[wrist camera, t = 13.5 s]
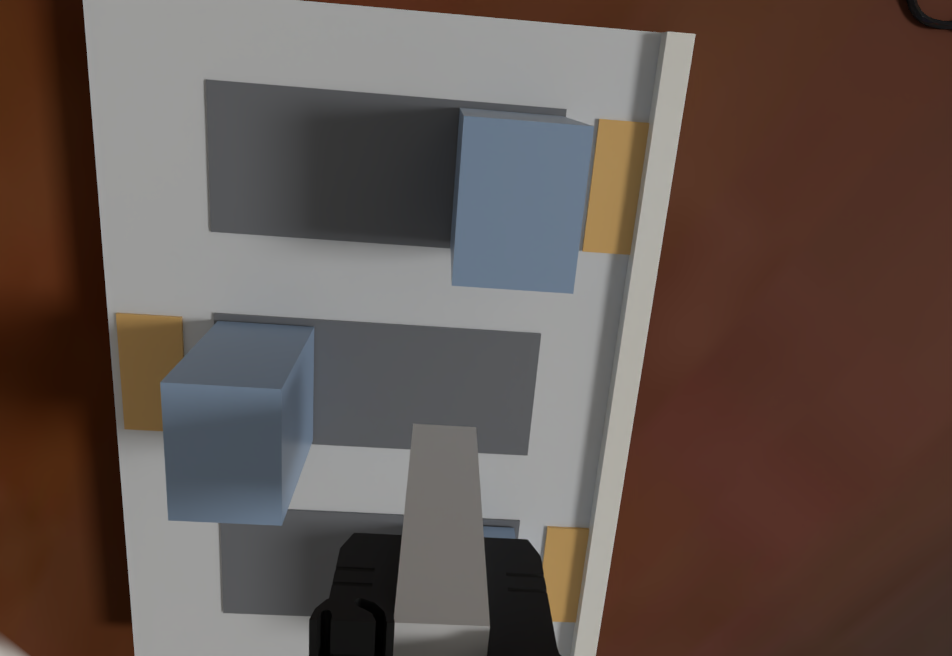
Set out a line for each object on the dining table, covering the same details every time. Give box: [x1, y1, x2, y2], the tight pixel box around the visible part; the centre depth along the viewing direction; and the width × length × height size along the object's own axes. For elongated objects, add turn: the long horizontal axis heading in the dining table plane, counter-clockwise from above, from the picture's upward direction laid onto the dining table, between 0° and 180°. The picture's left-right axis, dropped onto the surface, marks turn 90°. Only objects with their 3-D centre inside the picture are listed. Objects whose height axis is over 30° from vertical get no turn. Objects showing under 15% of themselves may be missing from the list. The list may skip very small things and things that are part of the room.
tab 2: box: [450, 108, 594, 294], centre depth 20 cm, size 4×3×5 cm
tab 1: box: [160, 321, 314, 526], centre depth 22 cm, size 4×3×5 cm
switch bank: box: [83, 0, 696, 656], centre depth 25 cm, size 23×17×3 cm
